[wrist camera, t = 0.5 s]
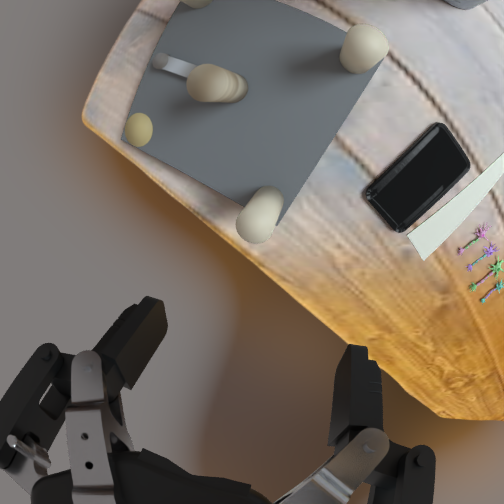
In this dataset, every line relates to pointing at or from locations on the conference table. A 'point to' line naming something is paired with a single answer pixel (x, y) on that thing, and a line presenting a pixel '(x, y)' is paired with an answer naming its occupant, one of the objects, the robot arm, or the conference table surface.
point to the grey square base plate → (253, 101)
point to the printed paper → (459, 219)
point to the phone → (419, 178)
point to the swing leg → (205, 80)
